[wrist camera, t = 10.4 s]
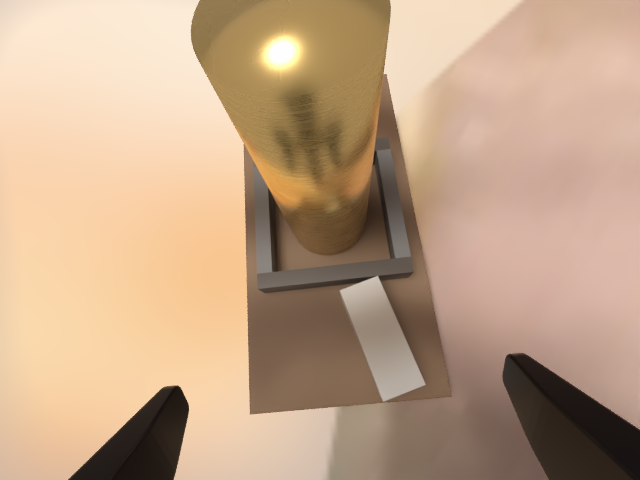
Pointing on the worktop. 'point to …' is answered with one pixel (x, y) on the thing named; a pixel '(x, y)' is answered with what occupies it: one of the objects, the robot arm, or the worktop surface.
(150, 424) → the robot arm
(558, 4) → the worktop surface
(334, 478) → the worktop surface
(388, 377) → the shaft rig
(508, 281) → the worktop surface
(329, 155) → the olive gold cylinder
